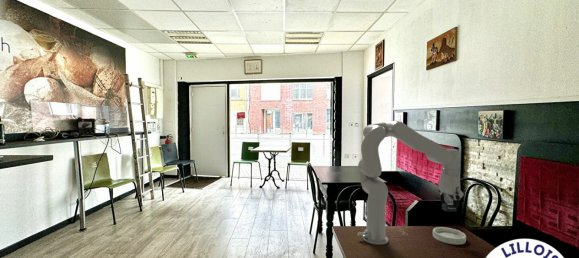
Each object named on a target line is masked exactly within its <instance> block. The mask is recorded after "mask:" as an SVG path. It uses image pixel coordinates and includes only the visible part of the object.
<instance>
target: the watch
mask: <svg viewBox="0 0 579 258" xmlns="http://www.w3.org/2000/svg"><path fill="white" fill-rule="evenodd" d="M455 194H456V193H455ZM455 196H456V195H455ZM456 197H457V196H456ZM444 200H445V202H443V203H441V210H443V211H444V212H453V213H454V212H455V213H456V212H457V211H458V208H454V207H453V200H454V198H453V195H449V194H446V193H444Z"/></svg>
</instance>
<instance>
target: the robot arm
mask: <svg viewBox="0 0 579 258" xmlns="http://www.w3.org/2000/svg"><path fill="white" fill-rule="evenodd" d="M362 135H363V140H362V142H361V145H360V147H361V148H360V151H361V159H360V160H359V162H358V165H357V168H358V169H357V170H358V175H359V180H360V185H361V187H362V190H363V191H364V192H365V193H366V194H368V197H367V201H366V220H365V221H366V225H365V226H366V228H365V229H364V231H362V232H361V231H360V232H356V233H357V237H361V238H362V239H363V240H364V241H365V242H366V243H368V244H371V245H376V246H377V245H378V246H379V245H380V246H381V245H386V244H388V242H389V238H388V237H387V235H386V218H387V217H386V216H387V215H386V214H387V213H386V211H387V209H386V208H387V200H388V194H389V190H388V186H387V185H386V183H385V182H384V181H382V180H381V179H379V177H380V176H381V174H382V171H383V170H382V163H381V160H380V159H381V158H380V151H379V147H380V145H381V143H382V142H383V141H384V140H385V138H388V137H393V138H395V139H396V140H398V141H400V142H401V143H403V144H404V145H406V147H407V146H408V147H409V148H410V149H412V150H414V151H418V152H420V153H422V154H425V157H426V159H427V160H428V161H430V162H433V163H436V164H440V165H442V168H441V169H442V170H441V171H442V172H441V173H440V178H439V184H438V185H437V189H438V192H439V195H440V203H441V204H442V203H446V202H445V200H444V193H446V194H449V195H453V198H454V200H453V207H454V208H457V209H458V208H460V200H461V199H462V198H463V196H464V195H465V194H464V192H463V191H462V190H461V179H460V173H459V172H460V151H459V149H456V148H445V147H444V146H443V145H441V144H439V143H438V142H436V141H434V140H432V139H430V138H428V137H426V136H424V135H422V134H420V133H419V132H418V131H416V130H414V129H413V128H411V127H410V126H408V125H407V124H405V123H404V122H402V121H400V120H389V121H383V122H379V123H373V124H368V125H366V126H365V127H364V128H363V131H362ZM455 193H456V194H455ZM455 195H456V196H457V197H456V196H455Z"/></svg>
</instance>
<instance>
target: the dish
mask: <svg viewBox="0 0 579 258" xmlns="http://www.w3.org/2000/svg"><path fill="white" fill-rule="evenodd" d="M432 237H433V238H434V239H435V240H437V241H439V242H441V243H444V244H450V245H455V246H456V245H458V246H459V245H464V244H466V241H467V235H466V234H465V232H462V231H461V230H459V229H455V228H451V227H445V226H437V227H436V226H435V227H434V228H432Z"/></svg>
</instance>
